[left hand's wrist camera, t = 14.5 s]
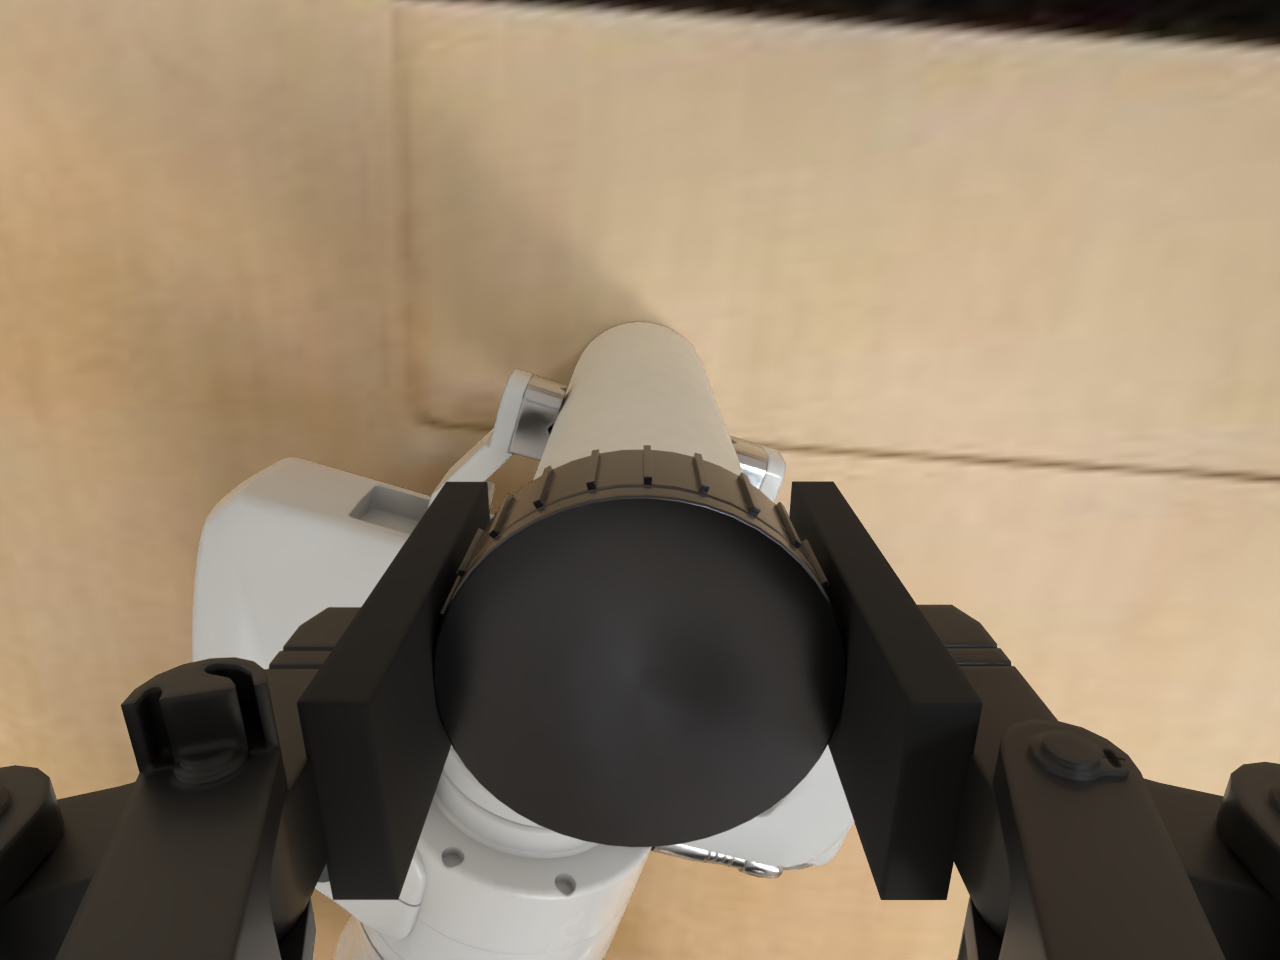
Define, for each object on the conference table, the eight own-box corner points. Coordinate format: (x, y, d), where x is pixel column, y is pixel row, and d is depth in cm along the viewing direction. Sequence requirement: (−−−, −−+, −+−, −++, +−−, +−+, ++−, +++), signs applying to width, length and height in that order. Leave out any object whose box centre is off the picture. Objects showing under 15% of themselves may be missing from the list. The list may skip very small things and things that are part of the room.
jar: (652, 478, 27) (669, 847, 12) (545, 402, 26) (412, 696, 11) (734, 376, 26) (873, 641, 11) (625, 293, 25) (604, 449, 10)
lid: (719, 805, 13) (732, 898, 12) (409, 690, 13) (371, 772, 11) (889, 534, 12) (934, 596, 10) (539, 380, 11) (520, 417, 9)
